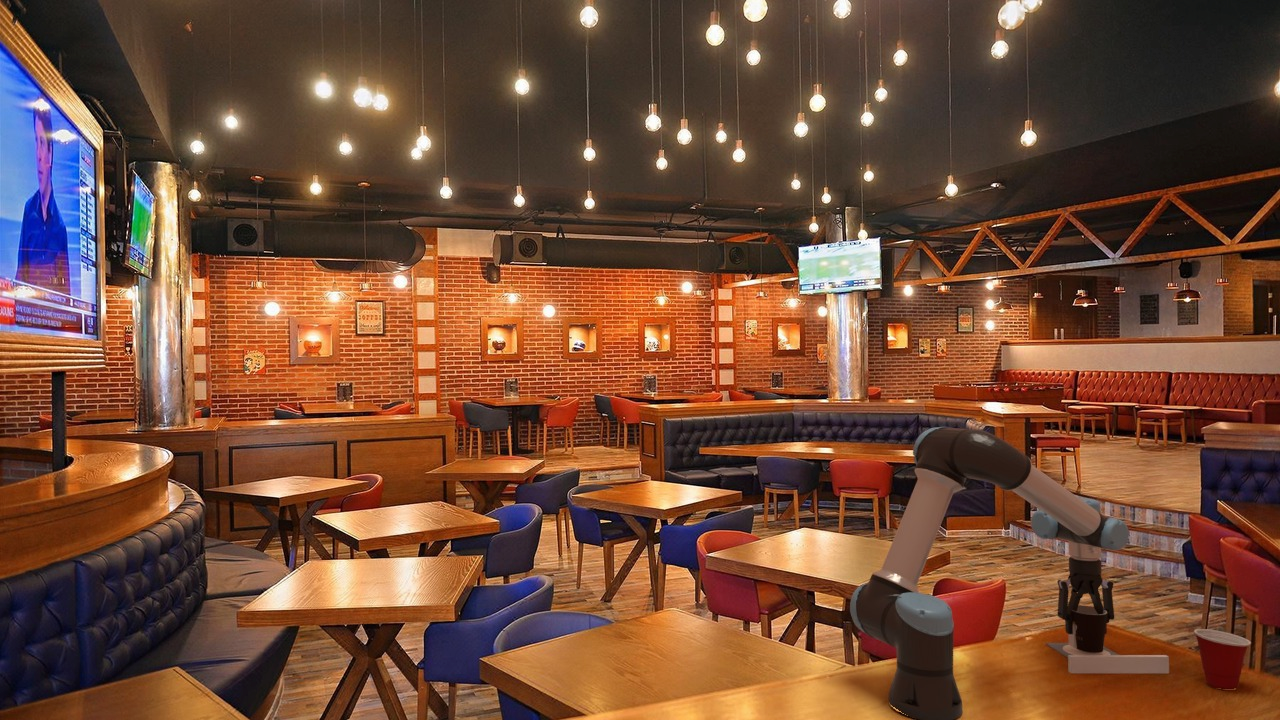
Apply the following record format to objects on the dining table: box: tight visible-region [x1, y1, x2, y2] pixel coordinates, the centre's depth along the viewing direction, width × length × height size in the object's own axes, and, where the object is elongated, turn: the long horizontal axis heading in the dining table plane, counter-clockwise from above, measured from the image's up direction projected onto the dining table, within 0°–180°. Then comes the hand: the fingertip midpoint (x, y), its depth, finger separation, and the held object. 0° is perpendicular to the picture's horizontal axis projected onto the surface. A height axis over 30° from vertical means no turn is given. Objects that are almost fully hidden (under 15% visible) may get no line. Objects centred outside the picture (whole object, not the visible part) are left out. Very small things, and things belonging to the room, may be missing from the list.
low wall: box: [1067, 654, 1170, 674], centre depth 195 cm, size 24×1×4 cm, turn 90°
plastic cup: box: [1193, 628, 1252, 689], centre depth 186 cm, size 11×11×12 cm
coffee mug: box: [1070, 604, 1107, 653], centre depth 209 cm, size 12×9×10 cm
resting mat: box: [1045, 642, 1119, 659], centre depth 209 cm, size 14×14×1 cm
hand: (1086, 646), depth 209 cm, fingers closed on coffee mug, 6 cm apart
